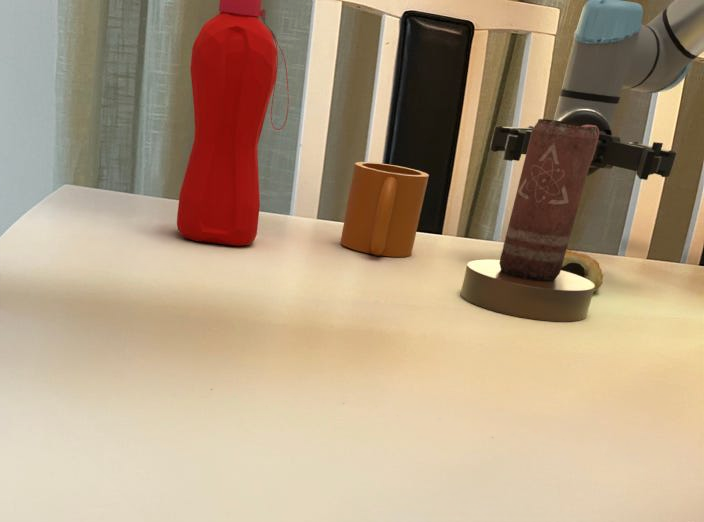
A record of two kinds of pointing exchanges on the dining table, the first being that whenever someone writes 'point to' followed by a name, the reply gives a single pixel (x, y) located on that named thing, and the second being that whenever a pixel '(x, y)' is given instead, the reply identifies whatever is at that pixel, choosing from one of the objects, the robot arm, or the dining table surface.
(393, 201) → the mug
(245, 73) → the water bottle
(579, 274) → the pastry
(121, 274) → the dining table surface
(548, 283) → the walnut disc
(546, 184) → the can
